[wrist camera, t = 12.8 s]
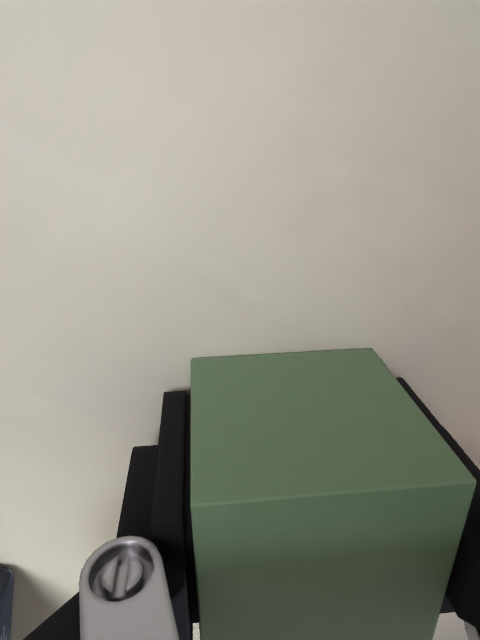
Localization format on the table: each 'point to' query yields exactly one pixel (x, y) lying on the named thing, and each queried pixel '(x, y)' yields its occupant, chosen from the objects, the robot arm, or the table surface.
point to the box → (5, 602)
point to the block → (319, 500)
